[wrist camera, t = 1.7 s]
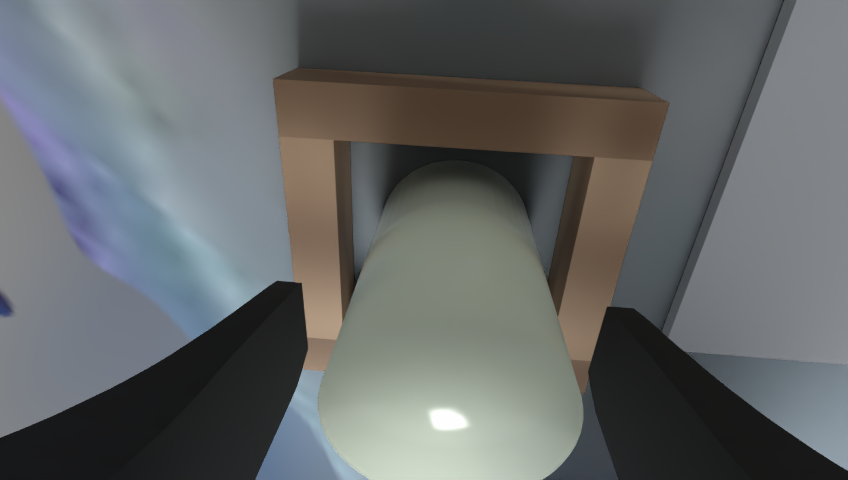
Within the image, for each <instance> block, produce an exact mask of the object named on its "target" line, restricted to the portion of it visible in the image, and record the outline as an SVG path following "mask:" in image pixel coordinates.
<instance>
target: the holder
mask: <svg viewBox="0 0 848 480" xmlns="http://www.w3.org/2000/svg"><path fill="white" fill-rule="evenodd" d="M273 85H274V94H275V104H276V113H277V122H278V132H279V141H280V151H281V160H282V170H283V179H284V189H285V198H286V207H287V217H288V226H289V236H290V245H291V255H292V264H293V274H294V282H297V283H302V290H303V300H304V310H305V320H306V330H307V340H308V351H307V355H306V358H305V362H304V365H303V368H304V369H306V370H318V371H325V370H326V367H327V365H328V362H329V359H330V356H331V354H332V351H333V348H334V345H335V342H336V340H337V337H338V334H339V331H340V329H341V326H342V323H343V320H344V318H345V315H346V312H347V309H348V306H349V304H350V301H351V298H352V295H353V293H354V290H355V286H354V255H353V223H352V192H351V161H350V141H355V142H370V143H385V144H400V145H416V146H431V147H446V148H461V149H477V150H492V151H507V152H522V153H538V154H553V155H568V156H574V159H573V163H572V168H571V173H570V178H569V183H568V188H567V192H566V197H565V202H564V207H563V212H562V216H561V221H560V226H559V231H558V236H557V241H556V245H555V250H554V255H553V260H552V265H551V270H550V274H549V279H548V286H549V289H550V293H551V296H552V299H553V303H554V306H555V309H556V313H557V316H558V320H559V323H560V326H561V330H562V333H563V336H564V340H565V343H566V346H567V350H568V353H569V356H570V360H571V363H572V366H573V370H574V373H575V377H576V380H577V383H578V387H579V390H580V393H582V394H585V390H586V387H587V383H588V380H589V375H588V370H589V366H590V363H591V359H592V356H593V353H594V349H595V346H596V342H597V339H598V335H599V332H600V329H601V325H602V322H603V318H604V315H605V311H606V308H607V307H610V305H611V301H612V298H613V294H614V291H615V288H616V284H617V281H618V277H619V274H620V271H621V267H622V264H623V260H624V257H625V253H626V250H627V247H628V243H629V240H630V236H631V233H632V230H633V226H634V223H635V219H636V216H637V212H638V209H639V206H640V202H641V199H642V195H643V192H644V189H645V185H646V182H647V178H648V175H649V171H650V168H651V165H652V161H653V158H654V154H655V151H656V147H657V144H658V141H659V137H660V134H661V130H662V127H663V124H664V120H665V117H666V113H667V110H668V106H669V102H667V101H665V100H663V99H661V98H659V97H657V96H656V95H654V94H652V93H650V92H648V91H646V90H644V89H642V88H629V87H612V86H595V85H578V84H561V83H544V82H528V81H511V80H494V79H477V78H460V77H443V76H426V75H409V74H392V73H375V72H358V71H341V70H324V69H308V68H296V69H294V70H292V71H289V72H287V73H285V74H283V75H281V76H278V77H276V78H274V79H273Z"/></svg>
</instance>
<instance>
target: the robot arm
mask: <svg viewBox="0 0 848 480" xmlns="http://www.w3.org/2000/svg"><path fill="white" fill-rule="evenodd" d="M307 351H308V340H307V330H306V320H305V310H304V300H303V290H302V283H297V282H285V281H276V282H275V283H273V284H272V285H270V286H269V287H267V288H266V289H264V290H263V291H262V292H260V293H259V294H258V295H256V296H255V297H254V298H252V299H251V300H250V301H248V302H247V303H246V304H244V305H243V306H241V307H240V308H239V309H237V310H236V311H235V312H233V313H232V314H230V315H229V316H228V317H226V318H225V319H223V320H222V321H221V322H219V323H218V324H216V325H215V326H214V327H212V328H211V329H209V330H208V331H206V332H205V333H203V334H202V335H200V336H199V337H197V338H196V339H194V340H193V341H191V342H190V343H188V344H187V345H185V346H183V347H182V348H180V349H179V350H177V351H176V352H174V353H173V354H171V355H170V356H168V357H166V358H165V359H163V360H161V361H160V362H158V363H156V364H155V365H153V366H151V367H149V368H148V369H146V370H144V371H143V372H140V373H139V374H137V375H135V376H133V377H131V378H129V379H128V380H126V381H124V382H122V383H120V384H118V385H116V386H114V387H113V388H111V389H109V390H107V391H104V392H102V393H100V394H98V395H96V396H94V397H92V398H90V399H88V400H86V401H84V402H82V403H79V404H77V405H75V406H73V407H71V408H69V409H67V410H65V411H63V412H61V413H58V414H56V415H54V416H52V417H50V418H47V419H45V420H43V421H40V422H38V423H36V424H33V425H31V426H29V427H26V428H24V429H21V430H19V431H16V432H14V433H11V434H9V435H6V436H4V437H1V438H0V480H255V479H256V476H257V474H258V472H259V469H260V467H261V465H262V463H263V461H264V458H265V456H266V454H267V452H268V449H269V447H270V445H271V443H272V441H273V438H274V436H275V434H276V432H277V430H278V427H279V425H280V423H281V421H282V419H283V417H284V414H285V412H286V410H287V408H288V405H289V403H290V401H291V399H292V396H293V394H294V392H295V389H296V387H297V384H298V381H299V378H300V375H301V372H302V369H303V365H304V362H305V358H306V355H307ZM588 375H589V381H590V386H591V391H592V396H593V401H594V406H595V410H596V414H597V417H598V420H599V423H600V426H601V429H602V432H603V435H604V438H605V441H606V444H607V447H608V450H609V453H610V456H611V459H612V461H613V464H614V467H615V470H616V473H617V476H618V479H619V480H848V471H847V470H845V469H844V468H842V467H840V466H839V465H837V464H835V463H834V462H832V461H831V460H829V459H827V458H826V457H824V456H823V455H821V454H820V453H818V452H817V451H815V450H813V449H812V448H810V447H809V446H807V445H806V444H805V443H803V442H802V441H800V440H799V439H797V438H796V437H794V436H793V435H791V434H790V433H788V432H787V431H785V430H784V429H783V428H781V427H780V426H778V425H777V424H775V423H774V422H772V421H771V420H770V419H768V418H767V417H765V416H764V415H763V414H761V413H760V412H759V411H757V410H756V409H755V408H753V407H752V406H751V405H749V404H748V403H747V402H745V401H744V400H743V399H742V398H740V397H739V396H738V395H736V394H735V393H734V392H733V391H731V390H730V389H729V388H727V387H726V386H725V385H724V384H722V383H721V382H720V381H719V380H717V379H716V378H715V377H714V376H712V375H711V374H710V373H709V372H708V371H706V370H705V369H704V368H703V367H702V366H700V365H699V364H698V363H697V362H696V361H695V360H693V359H692V358H691V357H690V356H689V355H688V354H686V353H685V352H684V351H683V350H682V349H681V348H679V347H678V346H677V345H676V344H675V343H674V342H673V341H671V340H670V339H669V338H668V337H667V336H666V335H665V334H663V333H662V332H661V331H660V330H659V329H658V328H657V327H655V326H654V325H653V324H652V323H651V322H650V321H648V320H647V319H646V318H645V317H644V316H642V315H641V314H640V313H639V312H637V311H636V310H635V309H633V308H620V307H607V308H606V311H605V315H604V318H603V322H602V325H601V329H600V332H599V335H598V339H597V342H596V346H595V349H594V353H593V356H592V359H591V363H590V366H589V370H588Z"/></svg>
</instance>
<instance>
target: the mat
mask: <svg viewBox="0 0 848 480" xmlns="http://www.w3.org/2000/svg"><path fill="white" fill-rule="evenodd" d="M662 333H663V334H665V335H666V336H667V337H668V338H669V339H670V340H671V341H673V342H674V343H675V344H676V345H677V346H678V347H679V348H681V349H682V350H683V351H684V352H695V353H707V354H719V355H731V356H743V357H755V358H768V359H780V360H792V361H804V362H816V363H828V364H841V365H848V0H784V2H783V5H782V8H781V11H780V13H779V16H778V19H777V21H776V24H775V27H774V29H773V32H772V35H771V38H770V40H769V43H768V46H767V48H766V51H765V54H764V57H763V59H762V62H761V65H760V67H759V70H758V73H757V75H756V78H755V81H754V84H753V86H752V89H751V92H750V94H749V97H748V100H747V102H746V105H745V108H744V111H743V113H742V116H741V119H740V121H739V124H738V127H737V129H736V132H735V135H734V138H733V140H732V143H731V146H730V148H729V151H728V154H727V156H726V159H725V162H724V165H723V167H722V170H721V173H720V175H719V178H718V181H717V183H716V186H715V189H714V192H713V194H712V197H711V200H710V202H709V205H708V208H707V210H706V213H705V216H704V219H703V221H702V224H701V227H700V229H699V232H698V235H697V237H696V240H695V243H694V246H693V248H692V251H691V254H690V256H689V259H688V262H687V265H686V267H685V270H684V273H683V275H682V278H681V281H680V283H679V286H678V289H677V292H676V294H675V297H674V300H673V302H672V305H671V308H670V310H669V313H668V316H667V319H666V321H665V324H664V327H663V329H662Z"/></svg>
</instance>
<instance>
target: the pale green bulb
mask: <svg viewBox="0 0 848 480" xmlns="http://www.w3.org/2000/svg"><path fill="white" fill-rule="evenodd" d="M318 413H319V418H320V423H321V425H322V428H323V431H324V433H325V435H326V437H327V439H328V440H329V442H330V444H331V445H332V447H333V448H334V449H335V451H336V452H337V453H338V454H339V455H340V456H341V457H342V458H343V459H344V461H345V462H346V463H348V464H349V465H350V466H351V467H352V468H354V469H355V470H356V471H357V472H359V473H360V474H362V475H363V476H365V477H367V478H368V479H370V480H543V479H544V478H546V477H547V476H549V475H550V474H551V473H553V472H554V471H555V470H556V469H557V468H558V467H559V466H560V465H561V464H562V463H563V462H564V461H565V460H566V459H567V458H568V456H569V455H570V454H571V452H572V450H573V449H574V447H575V446H576V444H577V441H578V439H579V436H580V434H581V430H582V425H583V403H582V397H581V393H580V390H579V387H578V383H577V380H576V377H575V373H574V370H573V366H572V363H571V360H570V356H569V353H568V350H567V346H566V343H565V340H564V336H563V333H562V330H561V326H560V323H559V320H558V316H557V313H556V309H555V306H554V303H553V299H552V296H551V293H550V289H549V286H548V283H547V279H546V276H545V273H544V269H543V266H542V263H541V259H540V256H539V252H538V249H537V246H536V242H535V239H534V236H533V232H532V229H531V226H530V222H529V219H528V216H527V212H526V209H525V206H524V204H523V201H522V199H521V197H520V195H519V194H518V192H517V191H516V189H515V188H514V187H513V186H512V185H511V184H510V183H509V182H508V180H507V179H505V178H504V177H503V176H501V175H500V174H499V173H497V172H496V171H494V170H492V169H490V168H488V167H486V166H483V165H481V164H477V163H474V162H469V161H462V160H447V161H439V162H435V163H431V164H428V165H426V166H423V167H420V168H419V169H417V170H415V171H413V172H411V173H410V174H409V175H407V176H406V177H405V178H403V179H402V180H401V181H400V182H399V183H398V184H397V186H396V187H395V188H394V189H393V191H392V192H391V194H390V196H389V197H388V199H387V201H386V204H385V207H384V209H383V212H382V215H381V218H380V220H379V223H378V226H377V229H376V232H375V234H374V237H373V240H372V243H371V245H370V248H369V251H368V254H367V257H366V259H365V262H364V265H363V268H362V270H361V273H360V276H359V279H358V281H357V284H356V287H355V290H354V293H353V295H352V298H351V301H350V304H349V306H348V309H347V312H346V315H345V318H344V320H343V323H342V326H341V329H340V331H339V334H338V337H337V340H336V342H335V345H334V348H333V351H332V354H331V356H330V359H329V362H328V365H327V367H326V370H325V373H324V376H323V379H322V381H321V384H320V388H319V394H318Z"/></svg>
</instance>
